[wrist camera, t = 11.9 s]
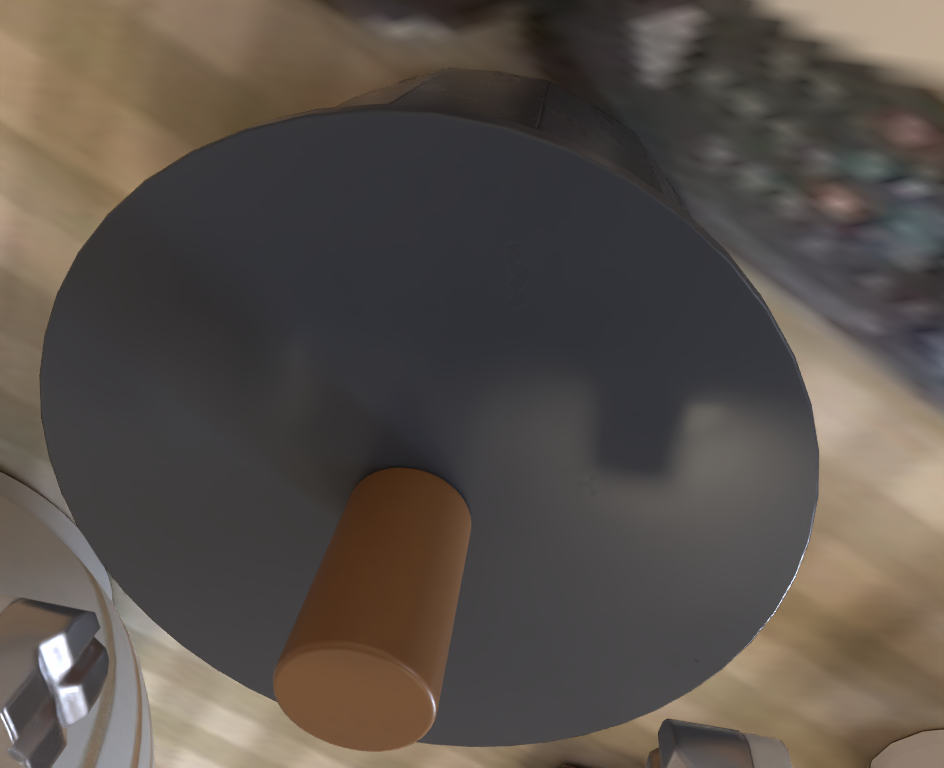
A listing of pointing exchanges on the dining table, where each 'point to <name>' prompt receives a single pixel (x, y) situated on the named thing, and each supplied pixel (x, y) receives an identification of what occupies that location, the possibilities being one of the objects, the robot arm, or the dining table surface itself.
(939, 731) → the foam cup
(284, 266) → the lid
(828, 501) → the dining table surface
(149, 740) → the decorative bowl
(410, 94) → the pot
